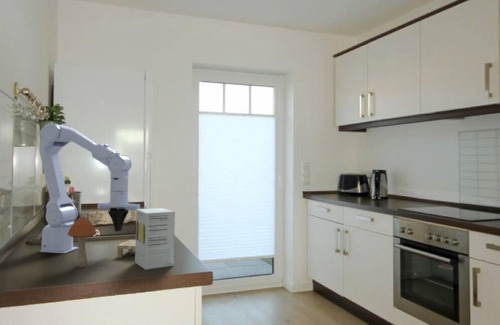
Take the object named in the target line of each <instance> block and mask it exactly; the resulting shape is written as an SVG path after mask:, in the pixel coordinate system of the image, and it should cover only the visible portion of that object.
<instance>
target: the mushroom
mask: <svg viewBox="0 0 500 325" xmlns="http://www.w3.org/2000/svg"><path fill="white" fill-rule="evenodd" d="M68 235H69V236H71V237H73V238H76V239H77V247H78V249H77V255H76V266H77V267H78V268H83V267H86V266H87V264H88V255H87V251H86V238H90V237H93V236H95V235H97V231H96V229H95V226H94V224H93V223H92V222H91V221H90V220H89V219H88V218H87V217H84V216H81V217H79V218H78V219H76V220H75V221H74V224H73V225H72V226H71V228H70V229H69V231H68Z"/></svg>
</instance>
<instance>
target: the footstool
mask: <svg viewBox="0 0 500 325" xmlns="http://www.w3.org/2000/svg"><path fill="white" fill-rule="evenodd" d="M116 247H117V258H123V257H124V254H123V252H124V251H123V250H125V249H126V250H127V252H128V253H133V251H134V250H135V249H136V239H129V240H127V241H124V242H122V243H120V244H117V246H116Z"/></svg>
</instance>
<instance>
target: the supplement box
mask: <svg viewBox="0 0 500 325" xmlns="http://www.w3.org/2000/svg"><path fill="white" fill-rule="evenodd" d="M135 212H136V213H135V214H136V216H135V217H136V220H135V223H136V224H135V240H136V249H134V250H135V251H134V252H135V253H134V255H135V257H134V261H135V264H137V265H138V266H139V267H141V268H143V270H145V271H147V270H153V269H159V268H166V267H173V266H174V265H175V264H174V263H175V262H174V259H175V230H176V229H175V228H176V226H175V224H176V223H175V222H176V212H175V211H174V210H169V209H166V208H164V207H159V208H158V207H157V208H140V209H137V211H135Z"/></svg>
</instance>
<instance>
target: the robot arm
mask: <svg viewBox="0 0 500 325" xmlns="http://www.w3.org/2000/svg"><path fill="white" fill-rule="evenodd" d="M39 137H40V144H39V155H40V160H41V164H42V169H43V173H44V177H45V182H46V187H47V191H48V196H49V201H48V202H47V204H46V205H45V208H46V213H45V220H46V222H47V224H46V225H44V227H43V229H42V232H41V249H40V250H39V253H53V254H66V253H69V252H72V251H75V250H78V246H74V237H71V236H69V235H68V231H69V229H70V228H71V226H72V225H73V224H74V222H75V221H76V220H77V218H78V214H79V212H78V209H77V207H76V206H75V204H74V201H73V199H72V198H70V197H69V196H68V193H67V189H66V183H65V178H64V175H63V171H62V166H61V162H60V161H61V160H60V156H59V152H60V151H61V149H63V148H64V147H65V146H67V145H68V144H69V143H70V142H73V143H74V144H77V145H78V146H80V147H81V148H84V149H85V150H86V151H88V152H90V153H91V157H92V158H93V159H95V160H96V161H98V162H99V163H101V164H102V165H104V166H105V167H107V169H108V171H109V172H110V189H109V190H110V192H109V193H110V194H109V202H98V203H97V210H102V209H103V210H104V209H105V210H108V215H109V217H110V218H111V221H112V224H113V229H114V232H120V231H122V230H123V229H122V228H123V225H124V222H125V219H126V218H127V215H128V213H129V212H130V211H135V212H136V211H137V209H141V204H139V203H138V204H136V203H128V200H129V171H130V170H131V168H132V161H131V158H129V157H128V156H127V155H120V154H121V153H120V152H119V151H115V150H113V149H112V148H111V147H110V145H109V144H107V143H98V144H97V143H96V142H94V141H93V140H91V139H90V138H89V137H88V136H85V135H84V134H83V133H81V132H80V131H78V130H77V129H76V128H74V127H71V126H70V125H68V124H67V125H63V124H57V123H53V122H48V123H45V125H43V127H42V128H41V129H40V131H39Z"/></svg>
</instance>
